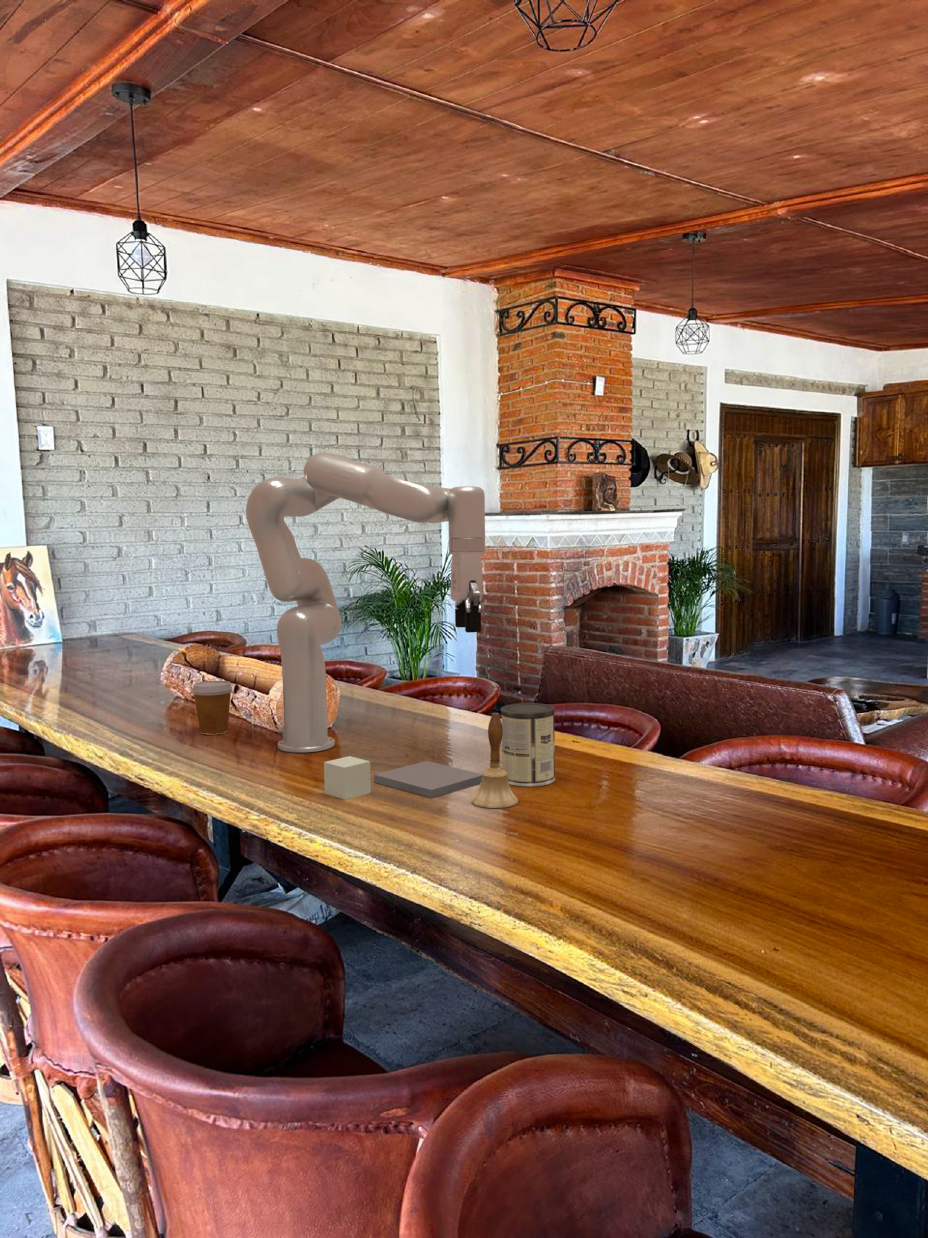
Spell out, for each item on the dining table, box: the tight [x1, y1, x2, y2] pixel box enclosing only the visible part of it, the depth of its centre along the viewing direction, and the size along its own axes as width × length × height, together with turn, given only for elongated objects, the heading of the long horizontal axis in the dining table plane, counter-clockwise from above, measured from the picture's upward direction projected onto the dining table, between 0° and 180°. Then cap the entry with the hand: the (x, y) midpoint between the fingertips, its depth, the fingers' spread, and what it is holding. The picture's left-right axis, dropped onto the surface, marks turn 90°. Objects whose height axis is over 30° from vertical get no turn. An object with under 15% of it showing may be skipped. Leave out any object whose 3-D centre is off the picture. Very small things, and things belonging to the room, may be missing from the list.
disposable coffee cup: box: [191, 680, 233, 734], centre depth 226 cm, size 10×10×12 cm
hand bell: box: [471, 712, 519, 809], centre depth 166 cm, size 8×8×16 cm
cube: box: [323, 755, 372, 801], centre depth 174 cm, size 6×6×6 cm
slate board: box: [373, 760, 482, 799], centre depth 180 cm, size 16×14×2 cm
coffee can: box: [500, 702, 556, 788], centre depth 180 cm, size 10×10×14 cm
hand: (467, 629), depth 196 cm, fingers open, 9 cm apart
